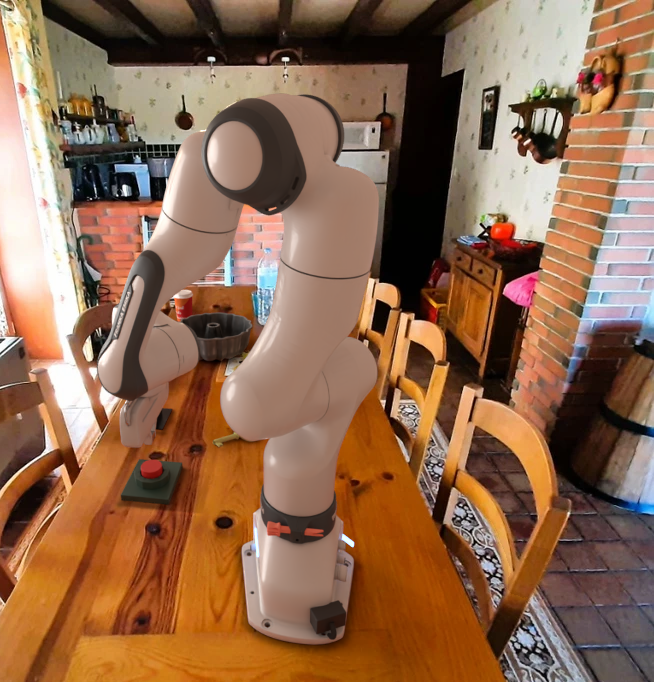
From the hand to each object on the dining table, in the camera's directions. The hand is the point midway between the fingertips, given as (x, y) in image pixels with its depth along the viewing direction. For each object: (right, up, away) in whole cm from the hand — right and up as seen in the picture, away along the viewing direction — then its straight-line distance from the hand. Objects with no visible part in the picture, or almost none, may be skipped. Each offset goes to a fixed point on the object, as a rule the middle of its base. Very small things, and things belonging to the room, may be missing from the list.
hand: (150, 440), depth 98 cm
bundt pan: (+15, +17, +68) cm, 72 cm away
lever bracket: (-3, -1, +29) cm, 29 cm away
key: (+19, -4, +19) cm, 27 cm away
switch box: (0, -11, +5) cm, 12 cm away
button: (0, -7, +3) cm, 8 cm away
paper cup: (+5, +26, +93) cm, 97 cm away
